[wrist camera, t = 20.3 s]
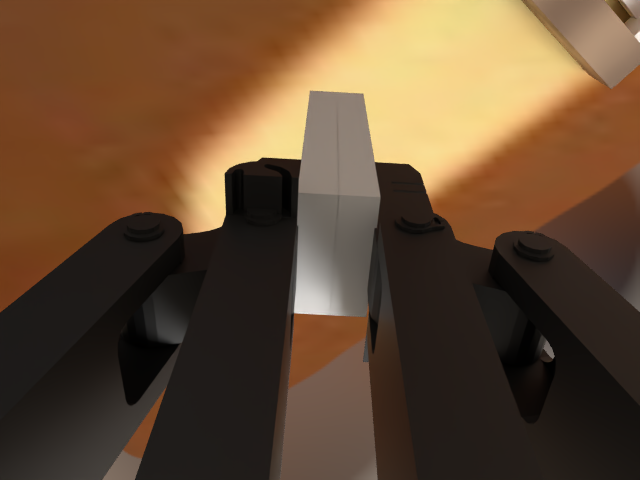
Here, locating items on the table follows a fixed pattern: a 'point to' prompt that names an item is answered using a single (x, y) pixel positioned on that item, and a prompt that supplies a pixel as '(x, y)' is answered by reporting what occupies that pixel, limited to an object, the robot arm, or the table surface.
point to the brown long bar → (591, 36)
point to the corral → (632, 16)
